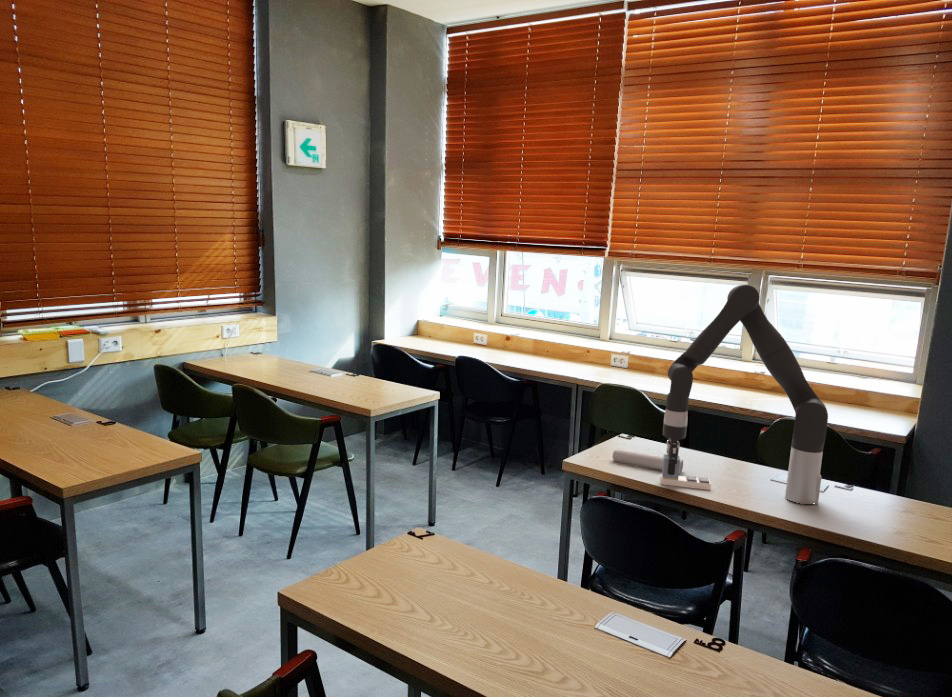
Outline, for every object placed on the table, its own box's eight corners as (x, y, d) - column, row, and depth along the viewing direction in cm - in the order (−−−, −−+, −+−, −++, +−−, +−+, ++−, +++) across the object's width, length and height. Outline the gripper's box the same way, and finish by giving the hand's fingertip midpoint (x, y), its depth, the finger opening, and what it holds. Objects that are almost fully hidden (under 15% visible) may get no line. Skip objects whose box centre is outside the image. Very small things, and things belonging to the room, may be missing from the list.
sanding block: (677, 475, 243) (679, 455, 241) (678, 480, 238) (680, 460, 237) (661, 474, 243) (663, 454, 242) (662, 478, 239) (664, 458, 238)
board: (708, 484, 241) (709, 479, 240) (710, 489, 236) (710, 484, 236) (659, 479, 244) (660, 473, 244) (660, 484, 239) (661, 478, 239)
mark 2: (707, 479, 240) (707, 477, 240) (709, 483, 236) (709, 481, 236) (698, 478, 241) (698, 476, 241) (699, 482, 237) (699, 480, 237)
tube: (610, 452, 260) (679, 464, 248) (614, 444, 264) (683, 456, 253) (610, 464, 262) (679, 477, 251) (615, 456, 266) (683, 469, 255)
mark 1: (695, 478, 241) (695, 476, 241) (696, 481, 237) (696, 480, 237) (686, 477, 241) (686, 475, 241) (687, 480, 238) (687, 479, 237)
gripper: (688, 429, 230) (683, 480, 233) (685, 419, 244) (680, 466, 247) (664, 427, 231) (659, 477, 234) (662, 416, 245) (657, 464, 248)
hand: (670, 471), depth 240 cm, fingers closed on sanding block, 5 cm apart
